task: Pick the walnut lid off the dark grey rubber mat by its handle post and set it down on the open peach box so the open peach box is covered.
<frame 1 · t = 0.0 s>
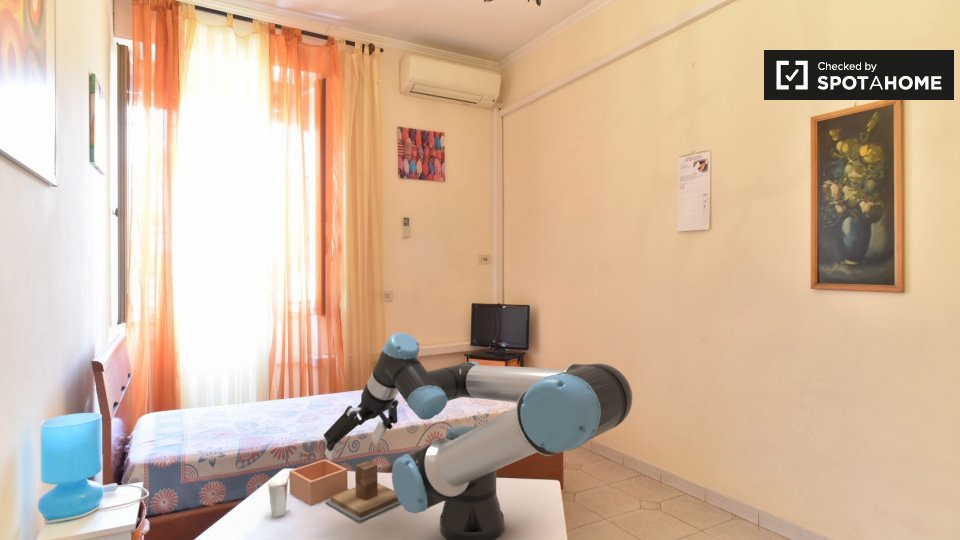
hand: (351, 449, 132), 15 cm above the table, tool tilted 35°, fingers open, 13 cm apart
lid: (366, 500, 136), point 1 cm above the table, touching mat
open peach box: (318, 491, 142), on the table
mat: (366, 502, 136), on the table
milkshake: (280, 515, 130), on the table
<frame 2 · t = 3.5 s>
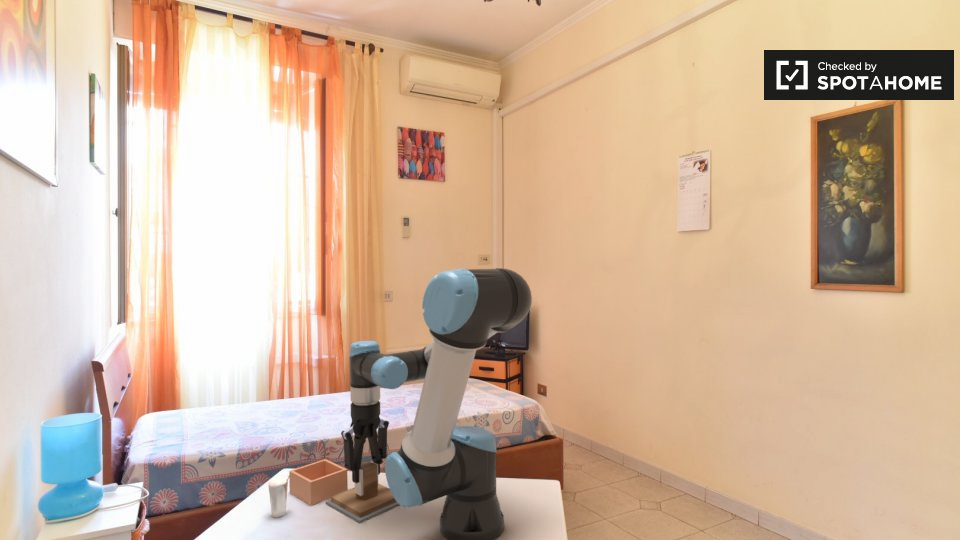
hand: (366, 490, 136), 3 cm above the table, tool pointing down, fingers closed on lid, 4 cm apart
lid: (366, 500, 136), point 1 cm above the table, touching gripper, mat
everything else where it was.
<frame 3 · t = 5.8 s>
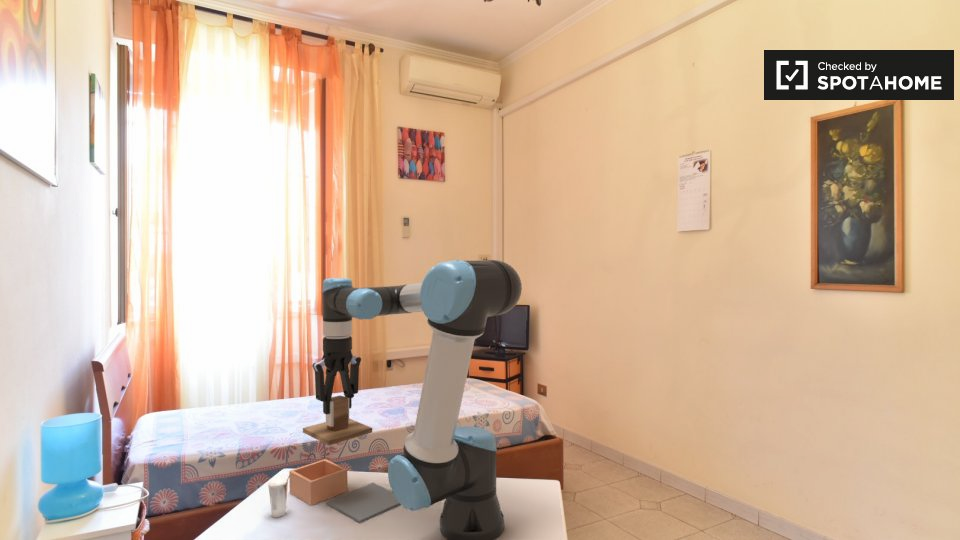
hand: (337, 423, 139), 20 cm above the table, tool pointing down, fingers closed on lid, 4 cm apart
lid: (337, 432, 140), point 17 cm above the table, touching gripper
everything else where it was.
when the fingers open (10 cm above the table, at t = 8.4 s): lid drops 2 cm, resting on open peach box.
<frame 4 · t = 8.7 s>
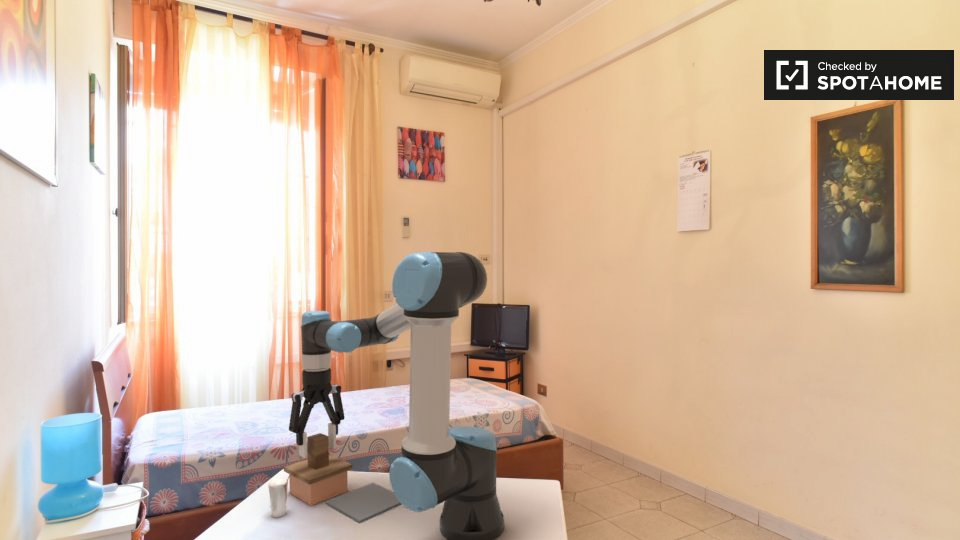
hand: (318, 451, 142), 11 cm above the table, tool pointing down, fingers open, 8 cm apart
lid: (318, 470, 142), point 6 cm above the table, touching open peach box
everything else where it was.
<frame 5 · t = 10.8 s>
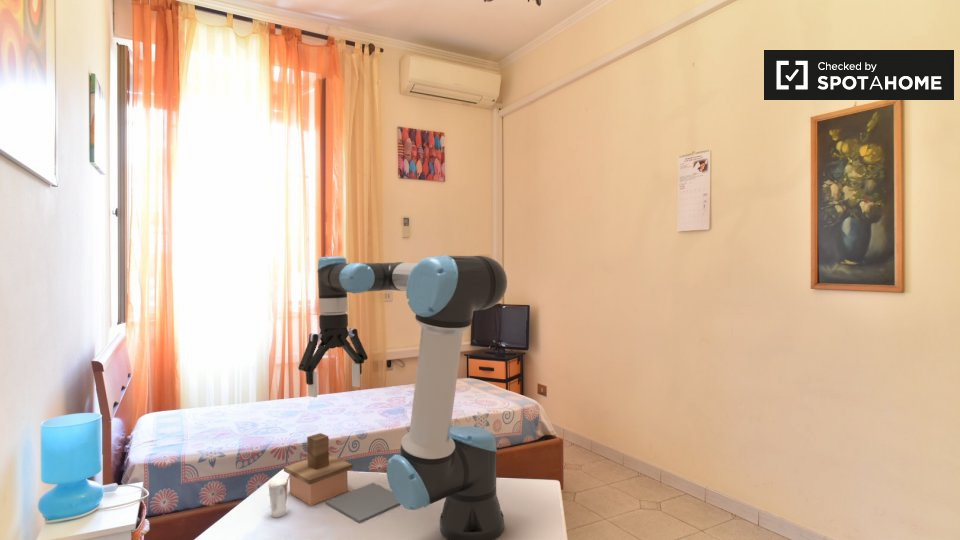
hand: (335, 391, 142), 27 cm above the table, tool pointing down, fingers open, 13 cm apart
nothing on the table moved.
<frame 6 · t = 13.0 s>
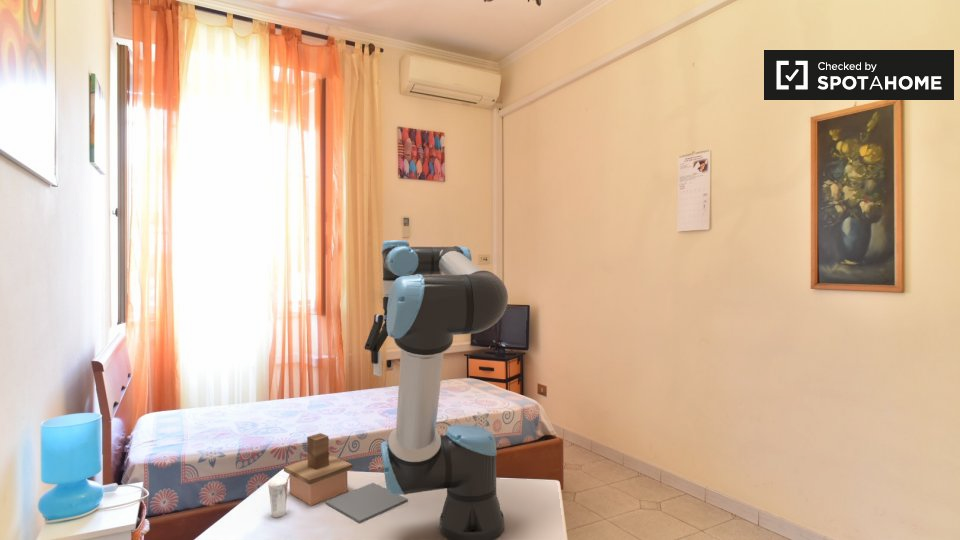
hand: (397, 371, 147), 32 cm above the table, tool pointing down, fingers open, 13 cm apart
nothing on the table moved.
at the end: lid 0.0 cm off-centre on the open peach box, point 6.0 cm above the open peach box's base; lid tilted 0°; the gripper is holding nothing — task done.
